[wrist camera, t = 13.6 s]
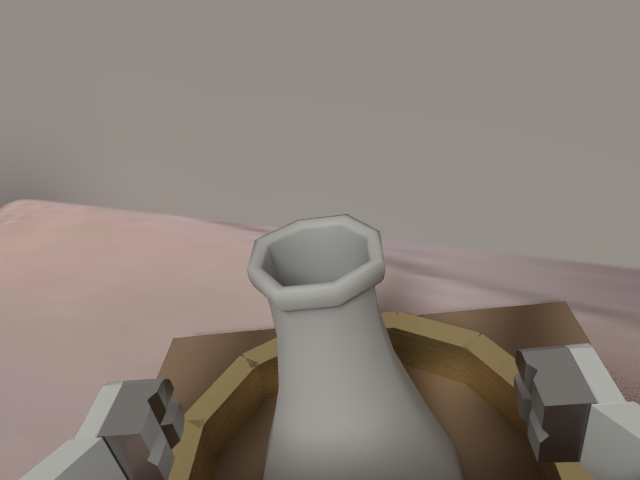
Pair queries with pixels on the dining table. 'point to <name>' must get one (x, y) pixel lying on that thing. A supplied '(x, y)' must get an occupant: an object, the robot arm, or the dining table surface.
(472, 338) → the wooden ring
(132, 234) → the dining table surface
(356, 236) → the flask
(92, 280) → the dining table surface
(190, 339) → the walnut board
